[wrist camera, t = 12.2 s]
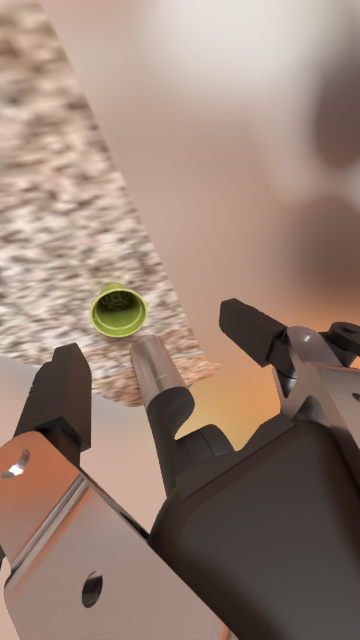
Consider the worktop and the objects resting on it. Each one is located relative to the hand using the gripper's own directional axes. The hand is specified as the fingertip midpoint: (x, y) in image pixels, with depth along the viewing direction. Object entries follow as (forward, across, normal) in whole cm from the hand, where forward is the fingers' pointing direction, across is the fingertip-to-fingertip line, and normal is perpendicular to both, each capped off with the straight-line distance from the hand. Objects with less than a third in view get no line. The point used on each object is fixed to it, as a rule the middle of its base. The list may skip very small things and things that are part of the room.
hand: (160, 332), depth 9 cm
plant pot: (+28, +2, +9) cm, 30 cm away
